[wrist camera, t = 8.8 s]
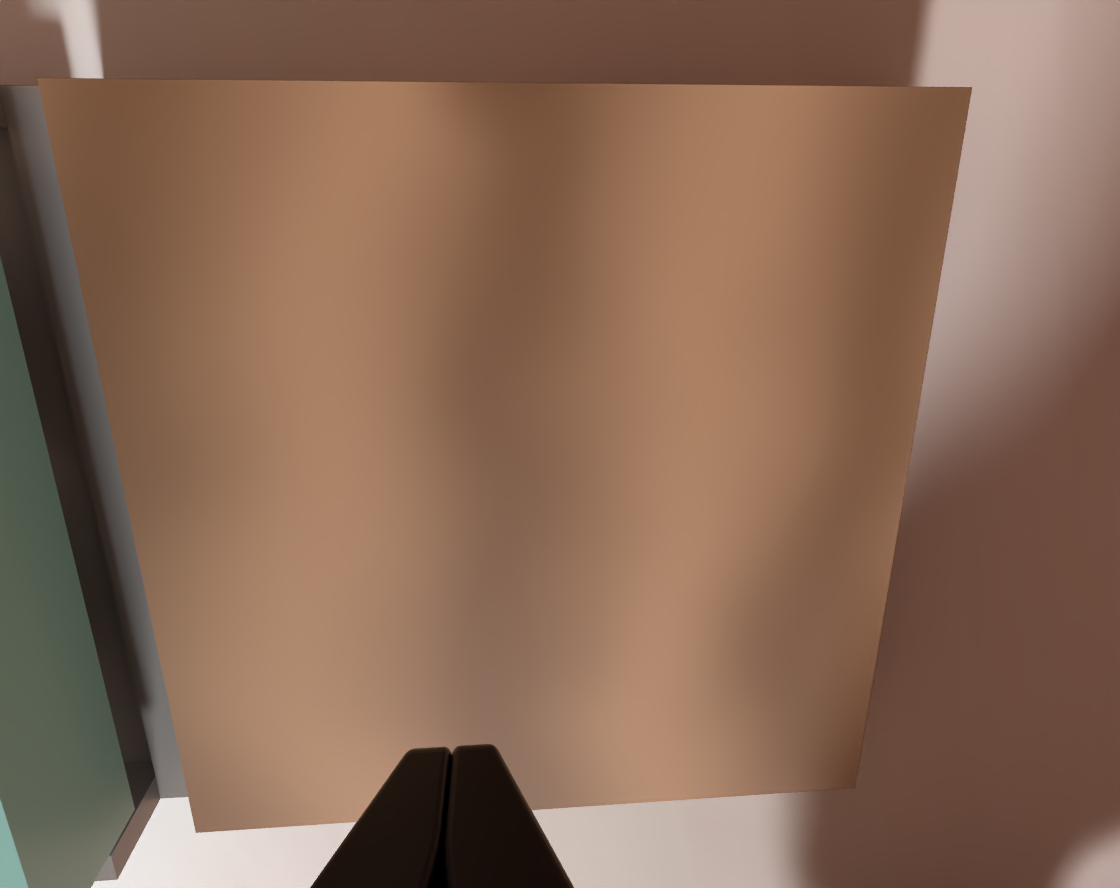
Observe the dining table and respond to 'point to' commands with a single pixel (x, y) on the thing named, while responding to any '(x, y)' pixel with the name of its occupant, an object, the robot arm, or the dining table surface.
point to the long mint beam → (47, 666)
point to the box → (83, 457)
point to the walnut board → (509, 420)
